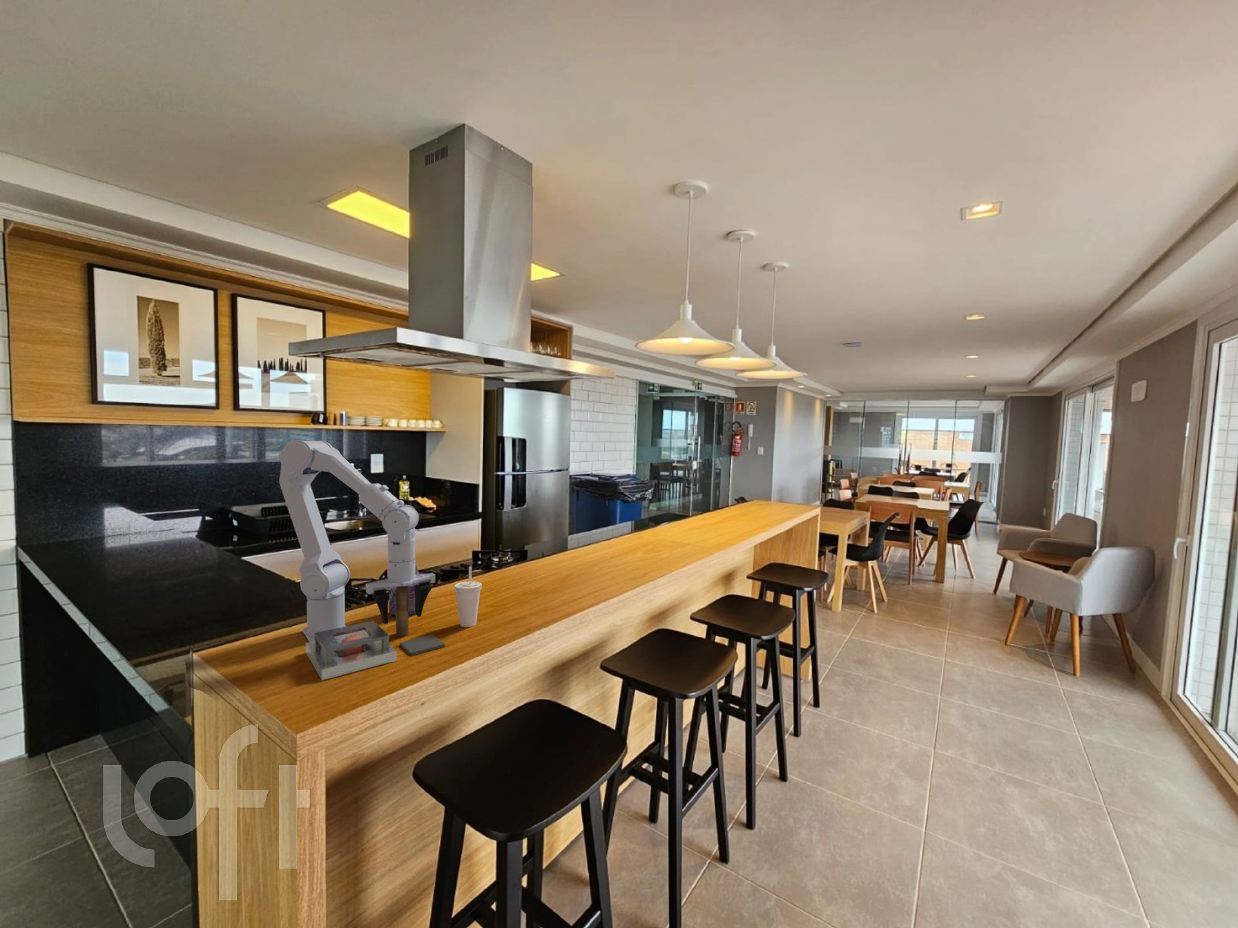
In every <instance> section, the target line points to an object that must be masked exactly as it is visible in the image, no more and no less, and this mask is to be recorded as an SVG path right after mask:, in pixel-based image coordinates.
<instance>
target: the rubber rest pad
mask: <svg viewBox="0 0 1238 928" xmlns="http://www.w3.org/2000/svg"><path fill="white" fill-rule="evenodd" d="M399 645H400V646H399V647H401V648H402V649H403V650H404V651H406V652H407V654H409V655H410V656H411V657H412V656H416V655H419V654H423V653H427V652H430V651H434V650H439V649H443V648H445V647H446V644H445V643H444V642H443V641H442V640H440V638H438V637H437V636H436V635H435V634H430V635H426V636H421V637H418V638H417V637H416V638H412V639H409V640H405V641H401V642H400V643H399Z"/></svg>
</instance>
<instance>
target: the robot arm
mask: <svg viewBox="0 0 1238 928" xmlns="http://www.w3.org/2000/svg"><path fill="white" fill-rule="evenodd" d="M278 458H279V460H280V464H281V466H280V473H279V480H278V481H279V485H280V486H279V487H280V489H281V492H282V496H283V498H284V501H285V504H286V508H287V510H288V513H289V515H290V519H291V521H292V524H293V528H294V532H295V533H296V536H297V540H298V542H299V546H300V548H301V549H300V550H301V552H302V554H303V557H304V558H303V560H302V563H301V564H300V566H299V573H300V584H299V585H300V590H301V592H302V594H304V595H305V596H306V600H307V601H306V627H303V628H301V629H302V630H301V631H302V633H303V634H304V636H305V638H307V641H308V643H309V642H313V641H315V633H317V632H321V631H326V630H331V629H336V628H341V627H345V626H346V624H345V623H346V621H345V619H346V618H345V617H346V615H345V614H346V612H345V611H346V610H345V609H346V605H345V589H346V588H345V587H346V585H347V584H348V582H349V580H350V578H351V571H350V568H349V567H348V565H347V564H346V563H345V562H344V561H343V560H342V556H341V555H340V553H338V552H336V551H335V550H334V549H332V546H331V543H330V541H329V537H328V534H327V531H326V528H325V526H324V522H323V519H322V516H321V514H320V510H319V507H318V504H317V501H316V498H315V495H314V492H313V489H312V486H311V484H312V482H313V481H314V479H315V478H316V476H317V475H318V474H319V473H321V472H326V473H327V472H328V473H331V474H332V475H333V476H334V477H336V478H337V479H338V480H339V481H341V482H343V484H345V485H346V486H348V487H349V488H350V489H351V490H353V491H354V492H355V493H357V494H358V500H359V503H360V504H361V505H362V506H364V507H365V508H366V509H367V510H368V511H369V512H370V513H372V514H373V515H374V516H376V518H378V519H379V520H380V521H381V524H382V527H383V530H385V532H386V534H387V578H385V579H381V580H376V581H373V582H368V583H365V592H366V594H367V595H371V596H372V597H373V600H374V601H375V603H376V605H377V607H378V610H379V613H380V617H381V622H382V623H383V624H384V625H387V624H389V594H388V592H387V591H389V590H391V589H397V588H396V587H401V586H414V592H415V613H414V614H415V616H417V617H418V618H419V617H422V614H423V610H424V607H425V606H424V605H425V603H426V601H427V598H428V596H429V594H430V592H431V590H432V584H435V583H436V574H435V573H433V572H430V573H421V574H420V573H419V574H418V575H415V565H416V526H417V525H418V523H419V519H420V518H419V517H420V516H419V513H418V511H417V510H416V508H415V507H414V506H413V505H410V504H405V502H404V501H403V499H400V500H399V499H398V498H397V497H396V496H394V495H393V494H392V493H391V492H390V491H389V489H390V488H389V487H388V486H387V484H383V485H382V484H380V483H371V482H370V481H369V480H368V479H367V478H366V477H365V476H363V474H362V473H361V472H360V471H358V470H357V469H356V467H354V466H353V465H352V464H351V463H350V462H349V461H348V460H347V459H346V458H345V457H344V456H343V455H342V454H341V453H340V451H339V450H338V449H337V448H335V447H333V446H332V445H331V444H330V443H329V442H327V441H325V440H301V439H293V440H291V441H288V442H287V443H286V444H285V445H284V447H283V448H282V449H281V451H280V453H279V454H278ZM349 634H350V633H349ZM344 635H345V634H344ZM340 636H341V635H340ZM335 637H336V636H335Z"/></svg>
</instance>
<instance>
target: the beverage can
mask: <svg viewBox="0 0 1238 928" xmlns="http://www.w3.org/2000/svg"><path fill="white" fill-rule="evenodd" d="M418 574H420V571H419V570H418V565H417V564H415V575H418ZM388 595H389V602H388V614H389V615H393V616H395V617H396V589H391V590H388ZM413 613H414V614H415V592H414V586H408V616H411V614H412V615H414V614H413Z"/></svg>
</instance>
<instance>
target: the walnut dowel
mask: <svg viewBox="0 0 1238 928" xmlns="http://www.w3.org/2000/svg"><path fill="white" fill-rule="evenodd" d="M396 588H397V589H396V616H395V636H397V637H403V635H404V636H407V635H408V634H409V615H408V586H401V587H396Z"/></svg>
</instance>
